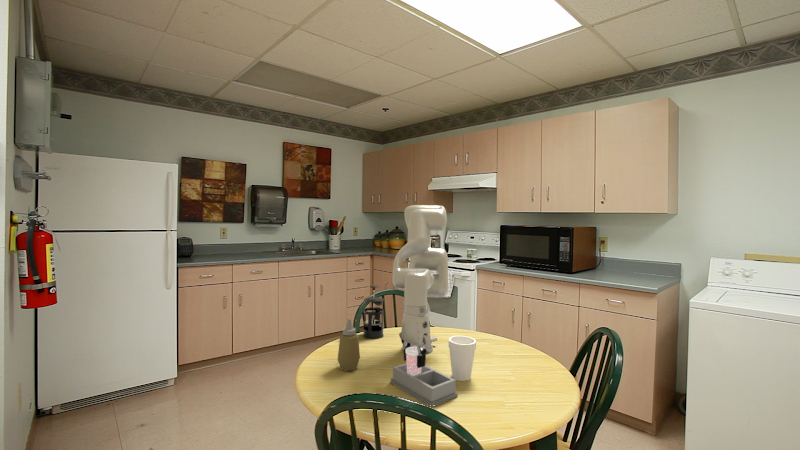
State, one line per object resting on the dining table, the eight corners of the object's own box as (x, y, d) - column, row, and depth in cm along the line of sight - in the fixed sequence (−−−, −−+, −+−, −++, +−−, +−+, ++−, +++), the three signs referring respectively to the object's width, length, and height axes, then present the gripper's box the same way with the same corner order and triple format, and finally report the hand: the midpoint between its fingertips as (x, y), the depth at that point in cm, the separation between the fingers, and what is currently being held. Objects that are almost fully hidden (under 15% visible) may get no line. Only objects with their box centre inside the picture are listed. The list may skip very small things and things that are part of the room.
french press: (378, 340, 168) (379, 288, 167) (359, 338, 170) (359, 287, 169) (387, 332, 179) (388, 284, 178) (368, 330, 182) (369, 282, 181)
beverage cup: (407, 371, 130) (408, 331, 129) (424, 373, 128) (425, 332, 128) (402, 379, 124) (403, 336, 123) (421, 381, 122) (422, 338, 122)
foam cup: (476, 373, 135) (477, 337, 135) (473, 384, 126) (474, 346, 126) (450, 369, 138) (451, 334, 138) (445, 380, 129) (445, 342, 129)
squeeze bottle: (355, 374, 133) (356, 323, 132) (334, 371, 134) (334, 321, 134) (362, 365, 141) (363, 316, 140) (342, 362, 142) (342, 315, 142)
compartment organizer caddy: (390, 382, 127) (390, 367, 127) (415, 374, 134) (415, 359, 134) (431, 407, 111) (432, 390, 111) (457, 396, 118) (458, 380, 118)
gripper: (442, 313, 121) (440, 369, 121) (407, 302, 134) (406, 352, 135) (424, 317, 116) (423, 375, 117) (390, 305, 130) (389, 357, 130)
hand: (414, 362), depth 126 cm, fingers closed on beverage cup, 6 cm apart
